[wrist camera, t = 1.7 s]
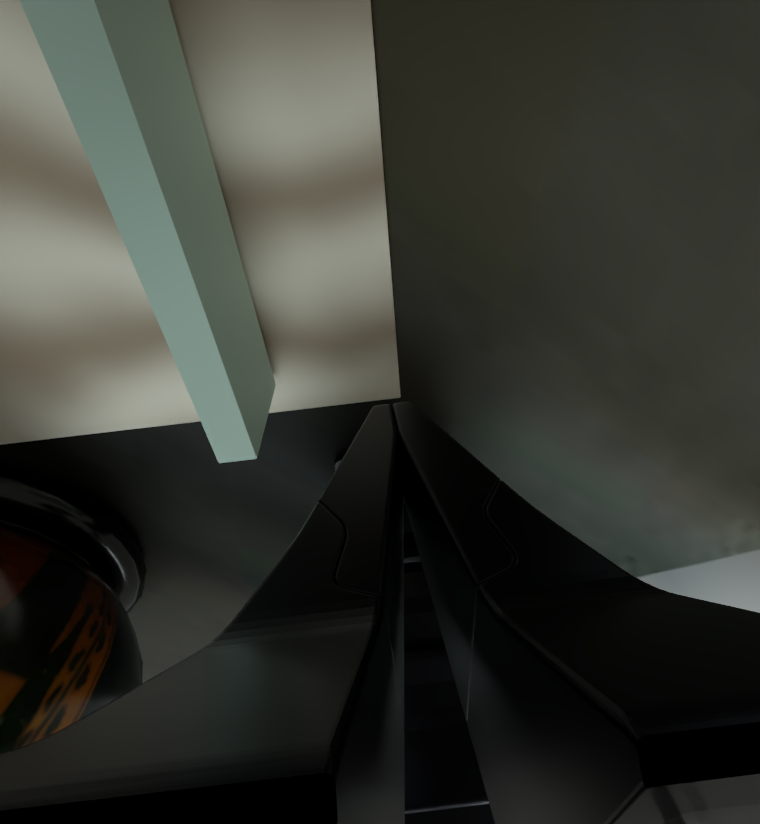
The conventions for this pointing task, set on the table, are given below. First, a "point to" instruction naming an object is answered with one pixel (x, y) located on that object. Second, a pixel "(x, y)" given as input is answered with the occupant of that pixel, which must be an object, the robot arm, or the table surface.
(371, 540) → the robot arm
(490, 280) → the table surface
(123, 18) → the gate
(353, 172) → the gate base
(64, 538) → the amphora vase
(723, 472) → the table surface
